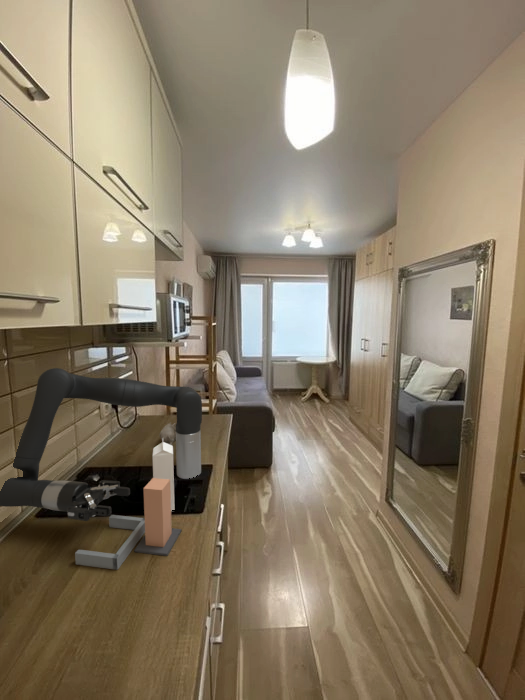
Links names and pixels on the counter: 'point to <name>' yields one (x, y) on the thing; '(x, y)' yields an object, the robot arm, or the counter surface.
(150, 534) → the post
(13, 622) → the counter surface
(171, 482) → the milk
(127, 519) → the stall
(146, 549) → the mat
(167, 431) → the rhinoceros figurine
